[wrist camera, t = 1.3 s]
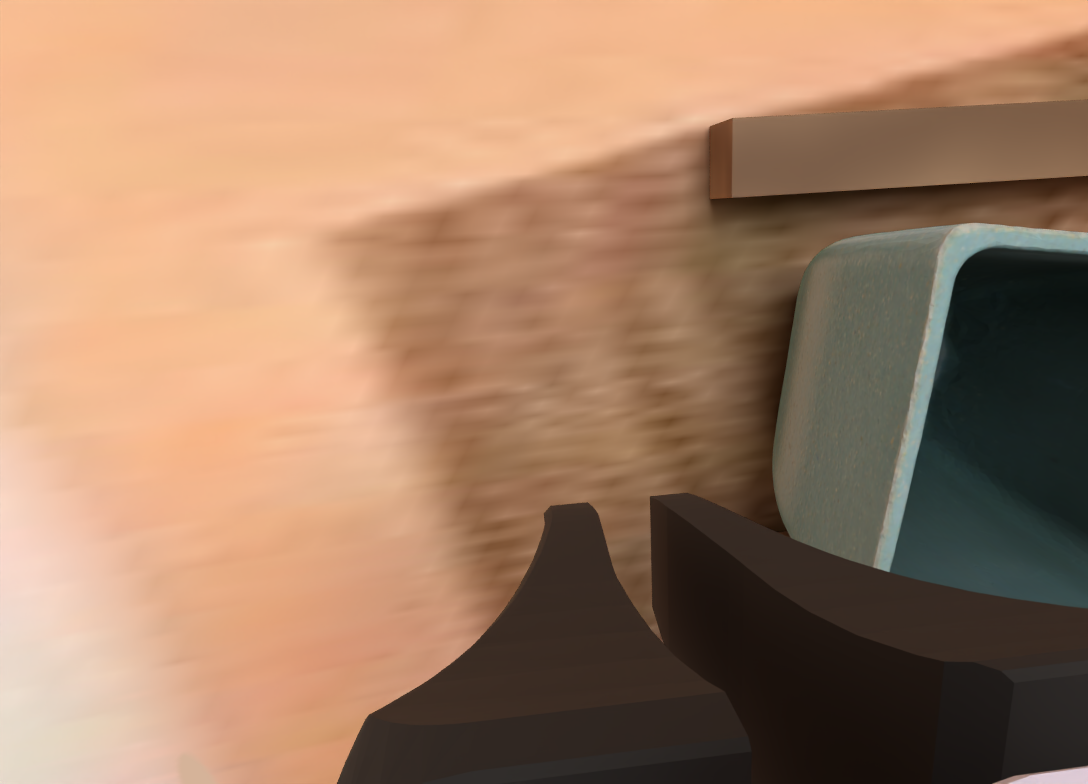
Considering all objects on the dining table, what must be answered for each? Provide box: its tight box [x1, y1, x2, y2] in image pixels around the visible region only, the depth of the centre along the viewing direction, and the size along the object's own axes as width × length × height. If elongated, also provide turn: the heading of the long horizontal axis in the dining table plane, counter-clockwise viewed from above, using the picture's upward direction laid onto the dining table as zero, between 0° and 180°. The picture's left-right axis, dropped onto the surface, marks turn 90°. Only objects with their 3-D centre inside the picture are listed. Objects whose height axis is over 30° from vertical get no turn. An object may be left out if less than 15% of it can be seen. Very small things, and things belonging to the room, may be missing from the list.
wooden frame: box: [710, 100, 1088, 538], centre depth 22 cm, size 15×24×2 cm, turn 93°
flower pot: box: [772, 223, 1088, 608], centre depth 18 cm, size 9×9×9 cm
